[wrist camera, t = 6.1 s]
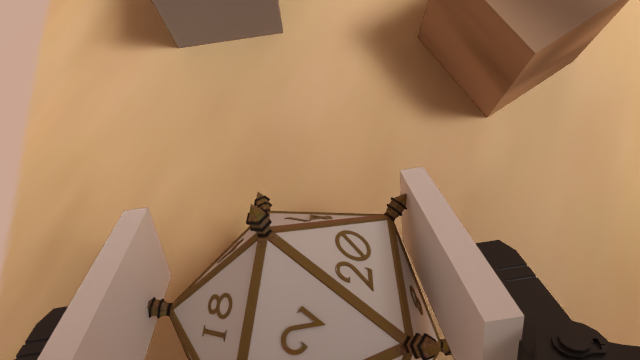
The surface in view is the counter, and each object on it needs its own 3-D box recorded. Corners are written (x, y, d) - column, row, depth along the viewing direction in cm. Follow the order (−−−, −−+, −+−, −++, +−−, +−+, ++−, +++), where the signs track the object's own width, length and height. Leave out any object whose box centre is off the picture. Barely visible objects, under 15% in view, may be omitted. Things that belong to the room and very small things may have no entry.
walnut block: (499, -12, 22) (546, -106, 17) (572, 62, 21) (644, -17, 16) (417, 38, 21) (442, -45, 16) (486, 118, 20) (535, 53, 15)
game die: (287, 295, 21) (200, 113, 15) (478, 317, 18) (457, 93, 12) (190, 515, 15) (-21, 349, 9) (456, 616, 11) (390, 450, 6)
